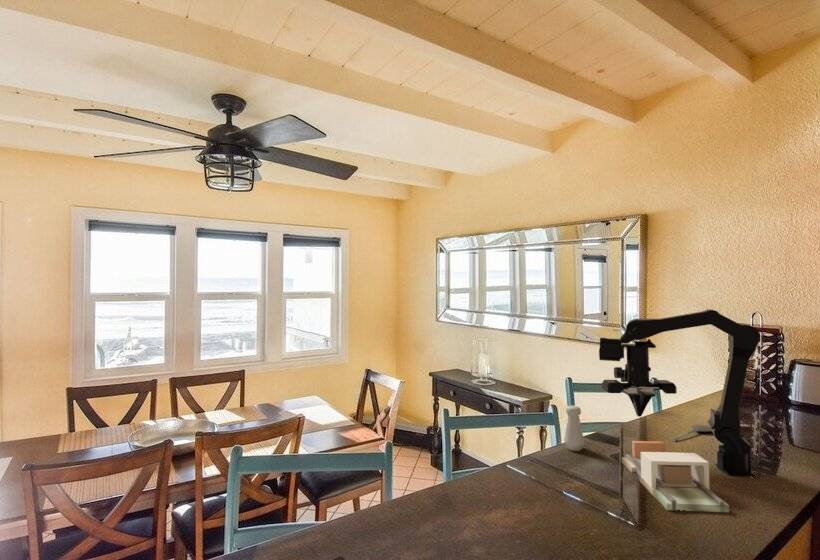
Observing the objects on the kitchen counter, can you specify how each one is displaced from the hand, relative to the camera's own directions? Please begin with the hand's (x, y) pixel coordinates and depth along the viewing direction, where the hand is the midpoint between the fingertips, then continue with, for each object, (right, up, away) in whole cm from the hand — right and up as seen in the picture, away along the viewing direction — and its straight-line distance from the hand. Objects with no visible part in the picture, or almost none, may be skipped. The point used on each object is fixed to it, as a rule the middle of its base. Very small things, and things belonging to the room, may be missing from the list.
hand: (639, 416), depth 127 cm
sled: (-1, -10, -14) cm, 17 cm away
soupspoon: (+27, -13, +18) cm, 34 cm away
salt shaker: (-16, -13, +8) cm, 22 cm away
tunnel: (-2, -10, -20) cm, 23 cm away
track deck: (-2, -12, -17) cm, 21 cm away
